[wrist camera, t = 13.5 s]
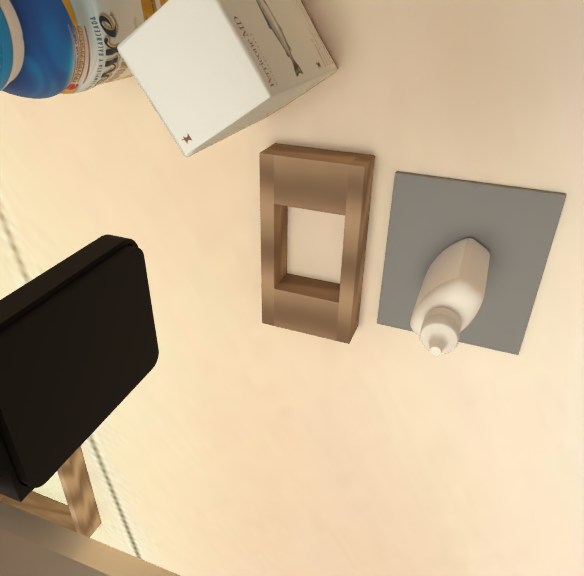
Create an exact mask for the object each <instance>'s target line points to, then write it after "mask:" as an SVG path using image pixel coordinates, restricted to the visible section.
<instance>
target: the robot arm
mask: <svg viewBox="0 0 584 576" xmlns="http://www.w3.org/2000/svg"><path fill="white" fill-rule="evenodd" d="M158 354H159V350H158V343H157V337H156V330H155V324H154V318H153V311H152V305H151V298H150V292H149V285H148V279H147V272H146V266H145V259H144V254H143V252H142V250H141V249H140V248H138V245H137V244H136V242H135V241H134V240H132V239H128V238H123V237H118V236H113V235H104V236H101V237H100V238H98V239H97V240H95V241H93V242H92V243H90V244H89V245H87V246H85V247H84V248H82V249H81V250H79V251H78V252H76V253H74V254H73V255H71V256H70V257H68V258H66V259H65V260H63V261H62V262H60V263H58V264H57V265H55V266H54V267H52V268H51V269H49V270H47V271H46V272H44V273H43V274H41V275H39V276H38V277H36V278H35V279H33V280H31V281H30V282H28V283H27V284H25V285H24V286H22V287H20V288H19V289H17V290H16V291H14V292H12V293H11V294H9V295H8V296H6V297H5V298H3V299H1V300H0V494H2V495H4V496H7V497H9V498H12V499H14V500H16V501H19V502H22V501H23V500H24V499H25V497H26V496H27V495H28V494H29V493H30V492H31V491H32V490H33V489H34V488H37V487H40V486H42V485H44V484H45V483H46V482H47V481H48V480H49V479H50V478H51V477H52V476H53V475H54V473H55V472H56V471H57V470H58V469H59V468H60V467H61V466H62V465H63V464H64V463H65V462H66V461H67V460H68V458H69V457H70V456H71V455H72V454H73V453H74V452H75V451H76V450H77V449H78V448H79V447H80V446H81V445H82V444H83V442H84V441H85V440H86V439H87V438H88V437H89V436H90V435H91V434H92V433H93V432H94V431H95V430H96V429H97V427H98V426H99V425H100V424H101V423H102V422H103V421H104V420H105V419H106V418H107V417H108V416H109V415H110V414H111V412H112V411H113V410H114V409H115V408H116V407H117V406H118V405H119V404H120V403H121V402H122V401H123V400H124V399H125V397H126V396H127V395H128V394H129V393H130V392H131V391H132V390H133V389H134V388H135V387H136V386H137V385H138V384H139V382H140V381H141V380H142V379H143V378H144V377H145V376H146V375H147V374H148V373H149V372H150V371H151V370H152V369H153V367H154V366H155V364H156V362H157V359H158ZM0 576H180V575H177V574H175V573H173V572H170V571H168V570H165V569H163V568H161V567H158V566H156V565H154V564H151V563H149V562H146V561H144V560H142V559H139V558H137V557H134V556H132V555H130V554H127V553H125V552H122V551H120V550H118V549H115V548H113V547H110V546H108V545H106V544H103V543H101V542H98V541H96V540H94V539H91V538H89V537H86V536H84V535H82V534H79V533H77V532H74V531H72V530H69V529H67V528H65V527H62V526H60V525H57V524H55V523H52V522H50V521H48V520H45V519H43V518H40V517H38V516H35V515H33V514H31V513H28V512H26V511H23V510H21V509H18V508H16V507H14V506H11V505H9V504H6V503H4V502H1V501H0Z"/></svg>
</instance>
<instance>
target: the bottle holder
mask: <svg viewBox="0 0 584 576" xmlns="http://www.w3.org/2000/svg"><path fill="white" fill-rule="evenodd" d="M374 158H375V156H372V155H364V154H356V153H348V152H340V151H332V150H324V149H316V148H308V147H299V146H291V145H283V144H273V145H271V146H270V147H268V148H267V149H265V150H264V151H262V152H260V211H261V274H262V323H264V324H269V325H273V326H277V327H281V328H285V329H289V330H294V331H298V332H302V333H306V334H310V335H315V336H319V337H323V338H327V339H331V340H335V341H340V342H344V343H348V344H349V343H350V341H351V339H352V337H353V335H354V333H355V331H356V329H357V327H358V320H359V310H360V300H361V290H362V280H363V270H364V260H365V249H366V239H367V229H368V219H369V209H370V199H371V189H372V179H373V169H374ZM287 206H290V207H296V208H302V209H308V210H315V211H321V212H327V213H333V214H339V215H345V228H344V241H343V255H342V268H341V281H340V284H335V283H330V282H325V281H320V280H316V279H311V278H306V277H301V276H296V275H291V274H287Z"/></svg>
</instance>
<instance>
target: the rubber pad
mask: <svg viewBox="0 0 584 576" xmlns="http://www.w3.org/2000/svg"><path fill="white" fill-rule="evenodd" d="M565 198H566V194H563V193H556V192H548V191H541V190H533V189H526V188H518V187H510V186H503V185H495V184H488V183H480V182H472V181H465V180H457V179H450V178H442V177H434V176H427V175H419V174H412V173H404V172H396V173H395V179H394V188H393V196H392V204H391V212H390V221H389V229H388V237H387V245H386V253H385V262H384V270H383V278H382V286H381V295H380V303H379V311H378V319H377V324H382V325H386V326H391V327H395V328H400V329H404V330H409V331H413V330H412V328H411V325H410V321H411V317H412V314H413V310H414V307H415V304H416V301H417V298H418V295H419V293H420V290H421V287H422V284H423V281H424V278H425V275H426V273H427V271H428V269H429V267H430V265H431V264H432V262H433V261H434V260H435V258H436V257H437V256H438V255H439V254H440V253H441V252H442V251H443V250H445V249H446V248H447V247H449V246H450V245H452V244H454V243H456V242H458V241H460V240H462V239H465V238H472V239H474V240H476V241H477V242H478V243H480V244H481V245H482V246H483V247H484V248H486V249H487V250H488V252H489V253H490V259H489V267H488V274H487V281H486V288H485V294H484V299H483V302H482V304H481V307H480V309H479V311H478V313H477V314H476V316H475V317H474V319H473V320H472V321H471V323H470V324H469V325H468V326H467V327H466V328H465V329H464V330H462V331H461V332H460V336H459V341H458V342H462V343H467V344H471V345H476V346H480V347H485V348H489V349H493V350H498V351H502V352H507V353H511V354H516V355H518V354H519V351H520V347H521V344H522V341H523V337H524V334H525V331H526V327H527V324H528V321H529V317H530V314H531V311H532V307H533V304H534V301H535V298H536V294H537V291H538V288H539V284H540V281H541V278H542V274H543V271H544V268H545V264H546V261H547V258H548V254H549V251H550V248H551V244H552V241H553V238H554V235H555V231H556V228H557V225H558V221H559V218H560V215H561V211H562V208H563V205H564V201H565ZM413 332H414V331H413Z"/></svg>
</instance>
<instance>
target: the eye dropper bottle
mask: <svg viewBox="0 0 584 576" xmlns="http://www.w3.org/2000/svg"><path fill="white" fill-rule="evenodd" d="M489 259H490V253H489V252H488V250H487V249H486V248H484V247H483V246H482V245H481V244H480V243H478V242H477V241H476V240H474V239H472V238H465V239H462V240H460V241H458V242H456V243H454V244H452V245H450V246H449V247H447V248H446V249H445V250H443V251H442V252H441V253H440V254H439V255H438V256H437V257H436V258H435V260H434V261H433V262H432V264H431V265H430V267H429V269H428V271H427V273H426V275H425V278H424V281H423V284H422V287H421V290H420V293H419V295H418V298H417V301H416V304H415V307H414V310H413V314H412V317H411V321H410V325H411V328H412V330H413V331H414V332H415V333H416V334H417V335H418V336H420V337H419V338H420V341H421V343H422V345H423V346H424V347H425V348H426V349H427V350H428V351H430V353H431V354H432V355H433V356H439V355H440V354H446V353H449V352H451V351H452V350H454V349H455V348H456V346H457V345H458V341H459V336H460V332H461V331H462V330H464V329H465V328H466V327H467V326H468V325H469V324H470V323H471V321H472V320H473V319H474V317H475V316H476V314H477V313H478V311H479V309H480V307H481V304H482V302H483V299H484V294H485V288H486V281H487V274H488V267H489Z"/></svg>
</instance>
